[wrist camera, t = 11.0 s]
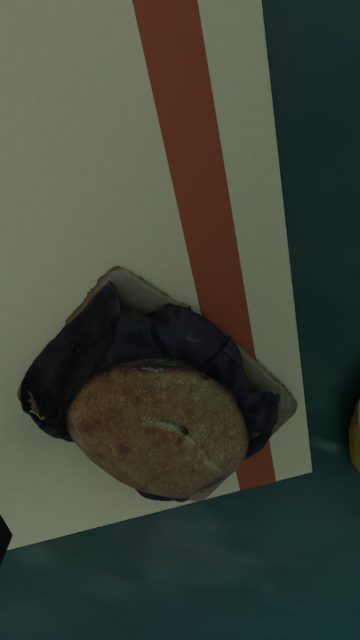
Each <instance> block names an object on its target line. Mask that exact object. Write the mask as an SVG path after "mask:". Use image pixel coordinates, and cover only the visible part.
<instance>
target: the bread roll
mask: <svg viewBox="0 0 360 640" xmlns="http://www.w3.org/2000/svg"><path fill="white" fill-rule="evenodd" d="M90 290H91V291H89V292H87V297H85V299H84V300H83V302H82V303H81V304H80V305H79V306H78V307H77V308H76V309H75V310H74V311H73V312H72V313H71V314H70V315H69V317H68V318H67V319H66V320H65V326H64V327H63V328H62V330H61V331H60V332H59V334H57V335H56V337H55V338H54V339H52V340H50V341H49V342H48V343H47V345H46V346H45V348H44V349H43V350H42V352H41V353H40V354H39V355H38V356H37V357H36V358H35V359H34V360H33V363H32V364H31V365H30V367H29V369H28V370H27V372H26V373H25V377H24V378H23V380H22V382H21V384H20V387H19V389H18V391H17V398H18V399H19V401H20V402H21V407H22V410H23V411H24V412H25V413H28V414H29V415H30V416H31V418H32V420H33V421H34V422H35V423H36V424H37V426H38V427H39V429H41V430H42V431H44V432H45V433H46V434H48V435H50V436H52V437H54V438H56V439H58V438H59V439H63V440H65V441H67V442H74V443H76V444H77V446H78V447H79V448H80V449H81V451H82V452H83V453H84V454H85V455H86V456H87V457H88V458H89V459H90V460H91V461H92V462H94V463H95V464H96V465H97V466H99V467H100V468H101V469H103V470H104V471H105V472H107V473H108V474H110V475H111V476H112V477H114V478H115V479H116V480H118V481H119V482H121V483H123V484H125V485H128V486H130V487H132V488H134V489H135V490H136V491H137V492H138V493H139V494H140V495H141V496H142V497H144V498H146V499H151V500H155V501H158V500H159V501H168V502H169V501H176V502H185V501H187V500H190V501H202V500H204V499H206V498H207V497H208V496H209V495H210V494H211V493H212V492H214V491H215V490H216V489H217V488H218V487H219V485H220V484H222V483H223V482H224V481H225V480H226V479H227V478H228V477H229V476H230V475H231V474H233V473H234V472H235V471H236V470H237V469H238V468H239V467H240V466H241V465H242V464H243V463H244V462H245V461H246V460H247V459H248V458H249V457H251V456H252V455H254V454H256V453H258V452H259V451H260V450H261V449H263V448H264V447H265V445H266V443H267V441H268V440H269V439H270V437H271V436H272V435H273V434H274V433H275V432H276V431H277V430H278V429H279V428H280V427H281V426H282V425H284V424H285V423H286V422H287V421H288V420H289V419H290V418H291V417H292V416H293V415H294V414H295V412H296V410H297V408H298V404H297V401H296V400H295V398H294V397H293V395H292V394H291V392H290V391H288V388H287V389H286V387H285V385H283V384H282V383H280V381H279V380H278V379H276V378H275V377H273V376H272V374H271V372H270V373H269V372H268V371H267V370H266V367H263V366H262V365H261V364H259V362H258V359H257V360H255V359H254V358H253V357H252V356H251V355H249V354H246V350H245V349H244V348H243V347H242V346H241V345H239V344H238V345H237V344H236V343H235V341H234V339H233V338H232V337H231V336H228V334H227V335H226V334H224V333H223V332H222V331H221V330H220V329H219V328H218V327H216V325H215V324H214V323H212V322H210V321H209V320H208V319H206V318H205V317H203V316H202V315H200V314H198V313H196V312H194V311H193V310H192V309H191V306H190V305H189V306H188V305H187V304H186V303H183V302H181V303H179V302H177V301H176V300H173V299H172V298H170V297H169V296H168V294H167V293H165V292H162V291H160V290H159V289H158V288H156V287H154V286H153V285H151V284H150V283H148V282H147V281H145V280H144V279H143V278H142V277H141V276H139V277H138V276H136V275H135V274H134V273H132V272H130V271H128V270H127V269H125V268H123V267H120V266H115V267H113V268H111V269H109V270H108V271H107V272H106V273H105V274H104V275H103V276H101V277H99V278H98V279H97V284H96V285H95V286H94V287H93V288H92V289H91V288H90ZM289 392H290V393H289ZM30 410H31V411H33V412H34V413H36V414H34V413H33V412H30ZM37 414H38V415H39V416H37ZM39 417H40V418H41V419H40V418H39ZM42 418H43V420H42Z"/></svg>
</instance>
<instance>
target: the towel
mask: <svg viewBox="0 0 360 640" xmlns="http://www.w3.org/2000/svg"><path fill="white" fill-rule="evenodd" d="M115 266H120V267H123V268H125V269H127V270H128V271H130V272H132V273H134V274H135V275H136V276H138V277H139V276H141V277H142V278H143V279H144V280H145V281H147V282H148V283H150V284H151V285H153V286H154V287H156V288H158V289H159V290H160V291H162V292H165V293H167V294H168V296H169V297H170V298H172V299H173V300H176V301H177V302H179V303H181V302H183V303H186V304H187V305H188V306H189V305H190V306H191V309H192V310H193V311H194V312H196V313H198V314H200V315H202V316H203V317H205V318H206V319H208V320H209V321H210V322H212V323H214V324H215V325H216V327H218V328H219V329H220V330H221V331H222V332H223V333H224V334H226V335H227V334H228V336H231V337H232V338H233V339H234V341H235V343H236V344H237V345H238V344H239V345H241V346H242V347H243V348H244V349H245V350H246V354H249V355H251V356H252V357H253V358H254V359H255V360H257V359H258V362H259V364H261V365H262V366H263V367H266V370H267V371H268V372H269V373H270V372H271V374H272V376H273V377H275V378H276V379H278V380H279V381H280V383H282V384H283V385H285V387H286V389H287V388H288V391H290V392H291V394H292V395H293V397H294V398H295V400H296V401H297V404H298V408H297V410H296V412H295V414H294V415H293V416H292V417H291V418H290V419H289V420H288V421H287V422H286V423H285V424H284V425H282V426H281V427H280V428H279V429H278V430H277V431H276V432H275V433H274V434H273V435H272V436H271V437H270V439H269V440H268V441H267V443H266V445H265V447H264V448H263V449H261V450H260V451H259V452H258V453H256V454H254V455H252V456H251V457H249V458H248V459H247V460H246V461H245V462H244V463H243V464H242V465H241V466H240V467H239V468H238V469H237V470H236V471H235V472H234V473H233V474H231V475H230V476H229V477H228V478H227V479H226V480H225V481H224V482H223V483H222V484H220V485H219V487H218V488H217V489H216V490H215V491H214V492H212V493H211V494H210V495H209V496H208V497H207V498H206V499H209V498H213V497H217V496H220V495H224V494H228V493H232V492H236V491H242V490H246V489H250V488H254V487H258V486H261V485H265V484H269V483H273V482H276V481H279V480H283V479H287V478H291V477H294V476H298V475H302V474H306V473H310V472H312V464H311V454H310V445H309V436H308V427H307V417H306V408H305V399H304V390H303V380H302V371H301V362H300V353H299V343H298V334H297V325H296V316H295V306H294V297H293V288H292V278H291V269H290V260H289V251H288V241H287V232H286V223H285V214H284V204H283V195H282V186H281V177H280V167H279V158H278V149H277V140H276V130H275V121H274V112H273V103H272V93H271V84H270V75H269V65H268V56H267V47H266V38H265V28H264V19H263V10H262V1H261V0H0V514H1V516H2V518H3V519H4V521H5V523H6V524H7V526H8V528H9V529H10V531H11V533H12V534H13V536H12V539H11V541H10V544H9V546H8V548H7V550H10V549H14V548H18V547H22V546H26V545H30V544H34V543H37V542H41V541H45V540H49V539H53V538H57V537H61V536H65V535H69V534H73V533H76V532H80V531H84V530H88V529H92V528H96V527H100V526H104V525H108V524H111V523H115V522H119V521H123V520H127V519H131V518H135V517H139V516H143V515H147V514H150V513H154V512H158V511H162V510H166V509H170V508H174V507H178V506H182V505H185V504H189V503H193V502H197V501H190V500H187V501H185V502H176V501H169V502H168V501H159V500H158V501H155V500H151V499H146V498H144V497H142V496H141V495H140V494H139V493H138V492H137V491H136V490H135V489H134V488H132V487H130V486H128V485H125V484H123V483H121V482H119V481H118V480H116V479H115V478H114V477H112V476H111V475H110V474H108V473H107V472H105V471H104V470H103V469H101V468H100V467H99V466H97V465H96V464H95V463H94V462H92V461H91V460H90V459H89V458H88V457H87V456H86V455H85V454H84V453H83V452H82V451H81V449H80V448H79V447H78V446H77V444H76V443H74V442H67V441H65V440H63V439H59V438H58V439H56V438H54V437H52V436H50V435H48V434H46V433H45V432H44V431H42V430H41V429H39V427H38V426H37V424H36V423H35V422H34V421H33V420H32V418H31V416H30V415H29V414H28V413H25V412H24V411H23V410H22V407H21V402H20V401H19V399H18V398H17V391H18V389H19V387H20V384H21V382H22V380H23V378H24V377H25V373H26V372H27V370H28V369H29V367H30V365H31V364H32V363H33V360H34V359H35V358H36V357H37V356H38V355H39V354H40V353H41V352H42V350H43V349H44V348H45V346H46V345H47V343H48V342H49V341H50V340H52V339H54V338H55V337H56V335H57V334H59V332H60V331H61V330H62V328H63V327H64V326H65V320H66V319H67V318H68V317H69V315H70V314H71V313H72V312H73V311H74V310H75V309H76V308H77V307H78V306H79V305H80V304H81V303H82V302H83V300H84V299H85V297H87V292H89V291H91V290H90V288H91V289H92V288H93V287H94V286H95V285H96V284H97V279H98V278H99V277H101V276H103V275H104V274H105V273H106V272H107V271H108V270H109V269H111V268H113V267H115ZM290 392H289V393H290ZM30 412H33V411H31V410H30ZM33 413H34V412H33ZM34 414H36V413H34ZM37 416H39V415H38V414H37ZM39 418H40V417H39ZM40 419H41V418H40ZM42 420H43V418H42ZM204 500H205V499H204Z"/></svg>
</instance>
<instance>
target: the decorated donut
mask: <svg viewBox="0 0 360 640" xmlns="http://www.w3.org/2000/svg"><path fill="white" fill-rule="evenodd" d="M349 451H350V456H351V460H352V464H353V465H354V466H355V467H356V469H357V470H358V472H359V474H360V398H359V400H358V401H357V403H356V405H355V409H354V414H353V417H352V419H351V422H350V426H349Z"/></svg>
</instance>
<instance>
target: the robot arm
mask: <svg viewBox="0 0 360 640" xmlns="http://www.w3.org/2000/svg"><path fill="white" fill-rule="evenodd" d="M12 536H13V534H12V533H11V531H10V529H9V528H8V526H7V524H6V523H5V521H4V519H3V518H2V516H1V514H0V565H1V563H2V560H3V558H4V556H5V553H6V551H7V548H8V546H9V544H10V541H11V539H12Z"/></svg>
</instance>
